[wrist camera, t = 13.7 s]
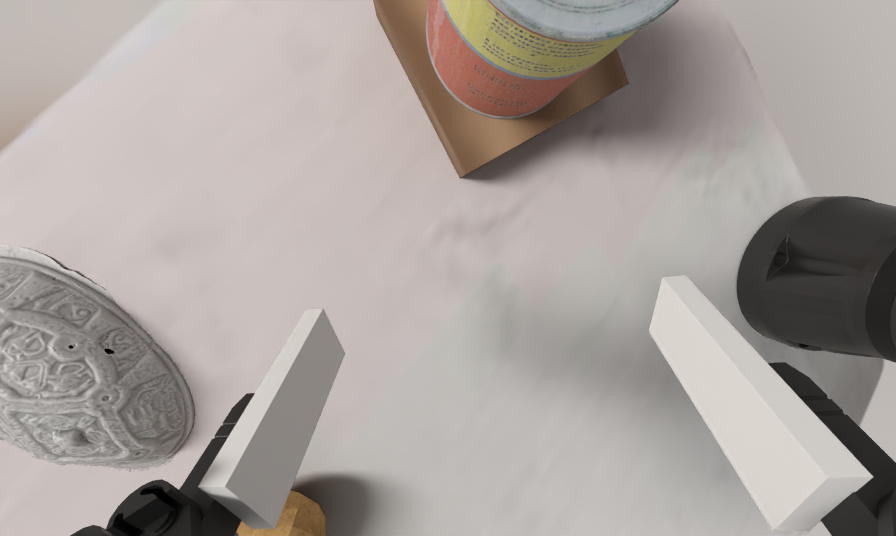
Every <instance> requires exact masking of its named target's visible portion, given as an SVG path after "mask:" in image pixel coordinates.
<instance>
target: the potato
mask: <svg viewBox="0 0 896 536" xmlns="http://www.w3.org/2000/svg"><path fill="white" fill-rule="evenodd" d="M236 532H237V533H238V535H239V536H326V517H325V515H324V513H323V512H322V510H321V508H320V506H319V505H318V504H317V503H315V502H314V501H312V500H310V499H309V498H307V497H306V496H304V495H303V494H301V493H298V492H295V491H291V490H290V493H289V495H288V498H287V500H286V503H285V505H284V508H283V510H282V513H281V515H280V518H279V520H278V523H277V525H276V528H275V529H251V528H250V527H249V526H247V525H246V524H245V523H243V522H242V521H241V523H240V525H239V527H238V529H237V531H236Z"/></svg>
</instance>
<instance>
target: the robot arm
mask: <svg viewBox="0 0 896 536" xmlns="http://www.w3.org/2000/svg"><path fill="white" fill-rule="evenodd" d="M737 294H738V300H739V305H740V308H741V310H742V313H743V315H744V317H745V318H746V320H747V321H748V323H749V324H750V325H751V326H752V327H753V328H754V329H755V330H756V331H757V332H759V333H760V334H762V335H763V336H765V337H767V338H770V339H772V340H775V341H778V342H780V343H783V344H786V345H788V346H791V347H795V348H799V349H804V350H813V351H828V352H833V353H840V354H848V355H857V356H867V357H876V358H883V359H886V360H890V361H893V362H896V207H895V206H891V205H886V204H881V203H876V202H874V201H871V200H868V199H864V198H859V197H849V196H846V197H845V196H842V197H839V196H838V197H813V198H807V199H803V200H800V201H797V202H795V203H793V204H791V205H789V206H787V207H785V208H783V209H782V210H780V211H779V212H777V213H776V214H775V215H773V216H772V217H771V218H770V219H769V220H768V221H767V222H766V223H765V224H764V225H763V226H762V227H761V228H760V229H759V230H758V232H757V233H756V234H755V236H754V237H753V239H752V240H751V242H750V243H749V245H748V247H747V249H746V251H745V253H744V256H743V258H742V261H741V264H740V268H739V273H738V280H737ZM649 333H650V334H651V336H652V338H653V339H654V341H655V342H656V344H657V346H658V347H659V349H660V350H661V352H662V354H663V355H664V357H665V358H666V360H667V362H668V363H669V365H670V366H671V368H672V370H673V371H674V373H675V374H676V376H677V378H678V379H679V381H680V382H681V384H682V386H683V387H684V389H685V390H686V392H687V394H688V395H689V397H690V398H691V400H692V402H693V403H694V405H695V407H696V408H697V410H698V411H699V413H700V415H701V416H702V418H703V419H704V421H705V423H706V424H707V426H708V427H709V429H710V431H711V432H712V434H713V435H714V437H715V439H716V440H717V442H718V443H719V445H720V447H721V448H722V450H723V451H724V453H725V455H726V456H727V458H728V459H729V461H730V463H731V464H732V466H733V467H734V469H735V471H736V472H737V474H738V475H739V477H740V479H741V480H742V482H743V483H744V485H745V487H746V488H747V490H748V492H749V493H750V495H751V496H752V498H753V500H754V501H755V503H756V504H757V506H758V508H759V509H760V511H761V512H762V514H763V516H764V517H765V519H766V520H767V522H768V524H769V525H770V527H771V528H772V530H773V531H810V530H811V529H812V528H813V527H815V526H816V525H817V524H818V523H819V522H821V521H822V523H823V524H824V525H825V527H826V528H827V529H828V531H829V532H830V533H831V535H832V536H896V463H895V462H894V461H893V460H892V459H891V458H890V457H889V456H888V455H887V454H886V453H885V452H884V451H883V450H882V449H881V448H880V447H879V446H878V445H877V444H876V443H875V442H874V441H873V440H872V439H871V438H870V437H869V436H868V435H867V434H866V433H865V432H864V431H863V430H862V429H861V428H860V427H859V426H858V425H857V424H856V423H855V422H854V421H853V420H852V419H851V418H850V417H849V416H848V415H844V414H843V410H842V409H840V408H839V407H838V406H837V405H836V404H835V403H834V402H833V401H832V400H831V399H828V398H827V395H826V394H825V393H824V392H823V391H822V390H821V389H820V388H819V387H818V386H817V385H816V384H815V383H814V382H813V381H812V380H811V379H810V378H809V377H807V376H806V375H804V374H803V373H801V372H799V371H798V370H796V369H795V368H793V367H791V366H790V365H788V364H787V363H785V362H783V363H767V362H766V361H765V360H764V359H763V358H762V357H761V356H760V355H759V354H758V353H757V352H756V350H755V349H754V348H753V347H752V346H751V345H750V344H749V343H748V342H747V341H746V340H745V339H744V338H743V337H742V335H741V334H740V333H739V332H738V331H737V330H736V329H735V328H734V327H733V326H732V325H731V324H730V323H729V322H728V320H727V319H726V318H725V317H724V316H723V315H722V314H721V313H720V312H719V311H718V310H717V309H716V308H715V307H714V305H713V304H712V303H711V302H710V301H709V300H708V299H707V298H706V297H705V296H704V295H703V294H702V293H701V291H700V290H699V289H698V288H697V287H696V286H695V285H694V284H693V283H692V282H691V281H690V280H689V279H688V278H687V276H686V275H683V276H672V277H662V281H661V285H660V289H659V293H658V297H657V301H656V305H655V309H654V313H653V317H652V321H651V325H650V329H649ZM344 355H345V352H344V350H343V348H342V346H341V344H340V342H339V340H338V338H337V336H336V334H335V332H334V330H333V328H332V326H331V324H330V321H329V319H328V317H327V315H326V313H325V311H324V309H323V308H322V309H311V310H306V311H305V312H304V314H303V316H302V317H301V319H300V320H299V322H298V324H297V325H296V327H295V329H294V330H293V332H292V334H291V335H290V337H289V338H288V340H287V342H286V343H285V345H284V347H283V348H282V350H281V352H280V353H279V355H278V356H277V358H276V360H275V361H274V363H273V365H272V366H271V368H270V370H269V371H268V373H267V374H266V376H265V378H264V379H263V381H262V383H261V384H260V386H259V388H258V389H257V391H256V392H255V393H250V394H246V395H245V396H244V397H243V398H242V399H241V400H240V401H239V402H238V403H237V404H236V405H235V406H234V407H233V408H232V410H231V411H230V413H229V414H228V416H227V417H226V419H225V420H224V422H223V426H221V427H220V428H219V430H218V431H217V433H216V434H215V438H214V439H212V440H211V442H210V444H209V445H208V447H207V448H206V450H205V451H204V453H203V454H202V456H201V457H200V459H199V461H198V462H197V464H196V465H195V467H194V468H193V470H192V471H191V473H190V474H189V476H188V477H187V479H186V481H185V482H184V484H183V485H182V487H181V488H180V489H179V490H178V489H177V488H175V487H174V486H173V485H171V484H170V483H168V482H166V481H164V480H155V481H151V482H149V483H147V484H145V485H143V486H141V487H139V488H138V489H137V490H135V491H134V492H133V493H131V494H130V495H129V496H128V497H127V498H126V499H125V500H124V501H123V502H122V503H121V504H120V505H119V506H118V508H117V509H116V510H115V512H114V513H113V515H112V516H111V518H110V520H109V523H108V525H107V528H106V529H104V528H102V527H100V526H95V525H92V526H89V527H85V528H83V529H81V530H79V531H77V532H76V533H74V534H72V535H71V536H239V535H238V533H237V532H236V531H237V529H238V527H239V525H240V523H241V521H242V522H243V523H245V524H246V525H247V526H249V527H250V528H251V529H275V528H276V525H277V523H278V520H279V518H280V515H281V513H282V510H283V508H284V505H285V503H286V500H287V498H288V495H289V493H290V490H291V488H292V485H293V483H294V480H295V478H296V475H297V473H298V470H299V467H300V465H301V462H302V460H303V457H304V455H305V452H306V450H307V447H308V445H309V442H310V440H311V437H312V435H313V432H314V430H315V427H316V425H317V422H318V420H319V417H320V415H321V412H322V410H323V407H324V405H325V402H326V400H327V397H328V395H329V392H330V390H331V387H332V385H333V382H334V380H335V377H336V375H337V372H338V370H339V367H340V365H341V362H342V360H343V357H344Z"/></svg>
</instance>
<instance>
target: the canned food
mask: <svg viewBox="0 0 896 536" xmlns="http://www.w3.org/2000/svg"><path fill="white" fill-rule="evenodd" d="M678 1H679V0H429V3H428V11H427V18H426V39H427V47H428V52H429V56H430V59H431V62H432V65H433V67H434V70H435V72H436V74H437V76H438V78H439V79H440V81H441V83H442V84H443V86H444V87H445V88H446V90H447V91H448V92H449V93H450V94H451V95H452V96H453V97H454V98H455V99H456V100H457V101H458V102H459V103H461V104H462V105H463V106H465V107H466V108H468V109H470V110H471V111H474V112H476V113H478V114H481V115H483V116H487V117H491V118H498V119H511V118H518V117H522V116H526V115H529V114H531V113H533V112H536V111H537V110H539V109H541V108H543V107H544V106H546V105H547V104H548V103H550V102H551V101H552V100H553V99H554V98H555V97H556V96H557V95H558V94H559V93H560V92H561V91H563V90H564V89H565V88H566V87H568V86H569V85H570V84H571V83H573V82H574V81H575V80H576V79H578V78H579V77H580V76H581V75H583V74H584V73H585V72H587V71H588V70H589V69H590V68H592V67H593V66H594V65H595V64H597V63H598V62H599V61H600V60H602V59H603V58H604V57H605V56H607V55H608V54H609V53H610V52H612V51H613V50H614V49H615V48H617V47H618V46H619V45H621V44H622V43H623V42H624V41H626V40H627V39H628V38H629V37H631V36H632V35H633V34H634V33H636V32H637V31H638V30H639V29H641V28H642V27H644V26H645V25H647V24H649V23H651V22H652V21H654V20H655V19H657V18H658V17H659V16H661V15H662V14H664V13H665V12H666V11H667V10H669V9H670V8H671V7H672V6H673V5H674V4H676V3H677V2H678Z"/></svg>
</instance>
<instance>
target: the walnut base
mask: <svg viewBox="0 0 896 536" xmlns="http://www.w3.org/2000/svg"><path fill="white" fill-rule="evenodd" d="M373 1H374V6H375V10H376V15H377V18H378V20H379V22H380V24H381V26H382V27H383V29H384V31H385V33H386V35H387V37H388V39H389V41H390V43H391V45H392V47H393V49H394V51H395V53H396V55H397V57H398V59H399V61H400V63H401V65H402V66H403V68H404V70H405V72H406V74H407V76H408V78H409V80H410V82H411V84H412V86H413V88H414V90H415V92H416V94H417V96H418V98H419V100H420V102H421V104H422V105H423V107H424V109H425V111H426V113H427V115H428V117H429V119H430V121H431V123H432V125H433V127H434V129H435V131H436V133H437V135H438V137H439V139H440V141H441V142H442V144H443V146H444V148H445V150H446V152H447V154H448V156H449V158H450V160H451V162H452V164H453V166H454V168H455V170H456V172H457V174H458V176H459V178H461V177H463V176H464V175H466V174H468V173H470V172H472V171H473V170H475V169H477V168H479V167H480V166H482V165H484V164H486V163H488V162H489V161H491V160H493V159H495V158H497V157H498V156H500V155H502V154H504V153H506V152H507V151H509V150H511V149H513V148H515V147H516V146H518V145H520V144H522V143H524V142H525V141H527V140H529V139H531V138H533V137H534V136H536V135H538V134H540V133H542V132H543V131H545V130H547V129H549V128H551V127H552V126H554V125H556V124H558V123H560V122H561V121H563V120H565V119H567V118H569V117H570V116H572V115H574V114H576V113H578V112H579V111H581V110H583V109H585V108H587V107H588V106H590V105H592V104H594V103H596V102H597V101H599V100H601V99H603V98H604V97H606V96H608V95H610V94H611V93H613V92H615V91H617V90H618V89H620V88H622V87H624V86H625V85H627V84H629V82H628V80H627V77H626V74H625V71H624V69H623V66H622V63H621V61H620V58H619V55H618V53H617V50H616V48H615V49H614V50H613V51H612V52H610V53H609V54H608V55H607V56H605V57H604V58H603V59H602V60H600V61H599V62H598V63H597V64H595V65H594V66H593V67H592V68H590V69H589V70H588V71H587V72H585V73H584V74H583V75H581V76H580V77H579V78H578V79H576V80H575V81H574V82H573V83H571V84H570V85H569V86H568V87H566V88H565V89H564V90H563V91H561V92H560V93H559V94H558V95H557V96H556V97H555V98H554V99H553V100H552V101H551V102H550V103H548V104H547V105H546V106H544V107H543V108H541V109H539V110H537V111H536V112H533V113H531V114H529V115H526V116H522V117H518V118H511V119H498V118H491V117H487V116H483V115H481V114H478V113H476V112H474V111H471V110H470V109H468V108H466V107H465V106H463V105H462V104H461V103H459V102H458V101H457V100H456V99H455V98H454V97H453V96H452V95H451V94H450V93H449V92H448V91H447V90H446V88H445V87H444V86H443V84H442V83H441V81H440V79H439V78H438V76H437V74H436V72H435V70H434V67H433V65H432V62H431V59H430V56H429V52H428V47H427V39H426V18H427V11H428V3H429V0H373Z"/></svg>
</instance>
